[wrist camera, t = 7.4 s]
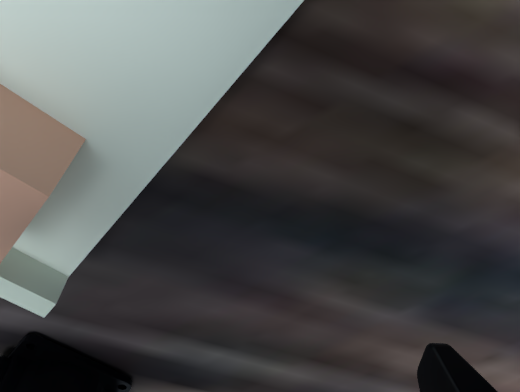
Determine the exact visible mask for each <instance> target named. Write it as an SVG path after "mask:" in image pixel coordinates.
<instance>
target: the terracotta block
mask: <svg viewBox="0 0 520 392" xmlns="http://www.w3.org/2000/svg"><path fill="white" fill-rule="evenodd" d="M85 140H86V139H85V138H83V137H82V136H80V135H79V134H77V133H76V132H74V131H73V130H71V129H70V128H68V127H66V126H65V125H63V124H62V123H60V122H59V121H57V120H56V119H54V118H52V117H51V116H49V115H48V114H46V113H45V112H43V111H42V110H40V109H39V108H37V107H35V106H34V105H32V104H31V103H29V102H28V101H26V100H25V99H23V98H22V97H20V96H18V95H17V94H15V93H14V92H12V91H11V90H9V89H8V88H6V87H5V86H3V85H1V84H0V263H1V262H2V260H3V259H4V258H5V256H6V255H7V254H8V252H9V251H10V250H11V248H12V247H13V245H14V244H15V243H16V241H17V240H18V239H19V237H20V236H21V234H22V233H23V232H24V230H25V229H26V228H27V226H28V225H29V224H30V222H31V221H32V219H33V218H34V217H35V215H36V214H37V213H38V211H39V210H40V208H41V207H42V206H43V204H44V203H45V202H46V200H47V199H48V198H49V196H50V194H51V193H52V191H53V190H54V188H55V187H56V185H57V184H58V182H59V180H60V179H61V177H62V176H63V174H64V173H65V171H66V170H67V168H68V166H69V165H70V163H71V162H72V160H73V159H74V157H75V156H76V154H77V152H78V151H79V149H80V148H81V146H82V145H83V143H84V142H85Z"/></svg>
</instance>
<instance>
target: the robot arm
mask: <svg viewBox="0 0 520 392" xmlns="http://www.w3.org/2000/svg"><path fill="white" fill-rule="evenodd" d="M417 378H418V383H419V388H420V392H497V391H496V390H495V389H494V388H493V387H492V386H491V385H490V384H489V383H488V382H487V381H486V380H485V379H484V378H483V377H482V376H481V375H480V374H479V373H478V372H477V371H476V370H475V369H474V368H473V367H472V366H471V365H470V364H469V363H468V362H467V361H466V360H465V359H463V358H462V357H461V356H460V355H459V354H458V353H457V352H456V351H455V350H454V349H453V348H452V347H451V346H450V345H448V344H443V343H430V344H428V345H427V346H426V348H425V351H424V353H423V356H422V359H421V361H420V364H419V366H418V371H417ZM131 387H132V379H131V378H130V377H128V376H126V375H123V374H121V373H119V372H117V371H115V370H112V369H110V368H108V367H106V366H104V365H101V364H99V363H97V362H95V361H93V360H90V359H88V358H86V357H84V356H82V355H79V354H77V353H75V352H73V351H71V350H68V349H66V348H64V347H62V346H60V345H57V344H55V343H53V342H51V341H49V340H47V339H44V338H42V337H40V336H38V335H34V334H29V335H26V336H25V337H24V338H23V339H22V340H21V341H20V343H19V344H18V345H17V346H16V347H15V348H14V349H13V351H12V352H11V353H10V354H9V355H8V356H7V357H6V356H1V357H0V392H129V391H130V389H131Z"/></svg>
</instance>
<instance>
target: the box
mask: <svg viewBox="0 0 520 392" xmlns="http://www.w3.org/2000/svg"><path fill="white" fill-rule="evenodd" d="M303 1H304V0H0V84H1V85H3V86H5V87H6V88H8V89H9V90H11V91H12V92H14V93H15V94H17V95H18V96H20V97H22V98H23V99H25V100H26V101H28V102H29V103H31V104H32V105H34V106H35V107H37V108H39V109H40V110H42V111H43V112H45V113H46V114H48V115H49V116H51V117H52V118H54V119H56V120H57V121H59V122H60V123H62V124H63V125H65V126H66V127H68V128H70V129H71V130H73V131H74V132H76V133H77V134H79V135H80V136H82V137H83V138H85V139H86V140H85V142H84V143H83V145H82V146H81V148H80V149H79V151H78V152H77V154H76V156H75V157H74V159H73V160H72V162H71V163H70V165H69V166H68V168H67V170H66V171H65V173H64V174H63V176H62V177H61V179H60V180H59V182H58V184H57V185H56V187H55V188H54V190H53V191H52V193H51V194H50V196H49V198H48V199H47V200H46V202H45V203H44V204H43V206H42V207H41V208H40V210H39V211H38V213H37V214H36V215H35V217H34V218H33V219H32V221H31V222H30V224H29V225H28V226H27V228H26V229H25V230H24V232H23V233H22V234H21V236H20V237H19V239H18V240H17V241H16V243H15V244H14V245H13V247H12V248H11V250H10V251H9V252H8V254H7V255H6V256H5V258H4V259H3V260H2V262H1V263H0V297H1V298H3V299H6V300H8V301H10V302H12V303H14V304H16V305H18V306H20V307H22V308H25V309H27V310H29V311H31V312H33V313H35V314H37V315H39V316H41V317H45V316H46V315H47V314H48V313H49V312H50V310H51V309H52V308H53V307H54V306H55V305H56V303H57V301H58V299H59V297H60V295H61V292H62V290H63V288H64V286H65V284H66V282H67V279H68V277H69V276H70V275H71V273H72V272H73V271H74V270H75V269H76V268H77V266H78V265H79V264H80V263H81V262H82V261H83V259H84V258H85V257H86V256H87V255H88V254H89V252H90V251H91V250H92V249H93V248H94V246H95V245H96V244H97V243H98V242H99V241H100V239H101V238H102V237H103V236H104V235H105V234H106V232H107V231H108V230H109V229H110V228H111V227H112V225H113V224H114V223H115V222H116V221H117V219H118V218H119V217H120V216H121V215H122V214H123V212H124V211H125V210H126V209H127V208H128V207H129V205H130V204H131V203H132V202H133V201H134V200H135V198H136V197H137V196H138V195H139V194H140V192H141V191H142V190H143V189H144V188H145V187H146V185H147V184H148V183H149V182H150V181H151V180H152V178H153V177H154V176H155V175H156V174H157V172H158V171H159V170H160V169H161V168H162V167H163V165H164V164H165V163H166V162H167V161H168V160H169V158H170V157H171V156H172V155H173V154H174V153H175V151H176V150H177V149H178V148H179V147H180V145H181V144H182V143H183V142H184V141H185V140H186V138H187V137H188V136H189V135H190V134H191V133H192V131H193V130H194V129H195V128H196V127H197V126H198V124H199V123H200V122H201V121H202V120H203V118H204V117H205V116H206V115H207V114H208V113H209V111H210V110H211V109H212V108H213V107H214V106H215V104H216V103H217V102H218V101H219V100H220V99H221V97H222V96H223V95H224V94H225V93H226V91H227V90H228V89H229V88H230V87H231V86H232V84H233V83H234V82H235V81H236V80H237V79H238V77H239V76H240V75H241V74H242V73H243V71H244V70H245V69H246V68H247V67H248V66H249V64H250V63H251V62H252V61H253V60H254V59H255V57H256V56H257V55H258V54H259V53H260V52H261V50H262V49H263V48H264V47H265V46H266V44H267V43H268V42H269V41H270V40H271V39H272V37H273V36H274V35H275V34H276V33H277V32H278V30H279V29H280V28H281V27H282V26H283V25H284V23H285V22H286V21H287V20H288V19H289V17H290V16H291V15H292V14H293V13H294V12H295V10H296V9H297V8H298V7H299V6H300V5H301V3H302V2H303Z"/></svg>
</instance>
